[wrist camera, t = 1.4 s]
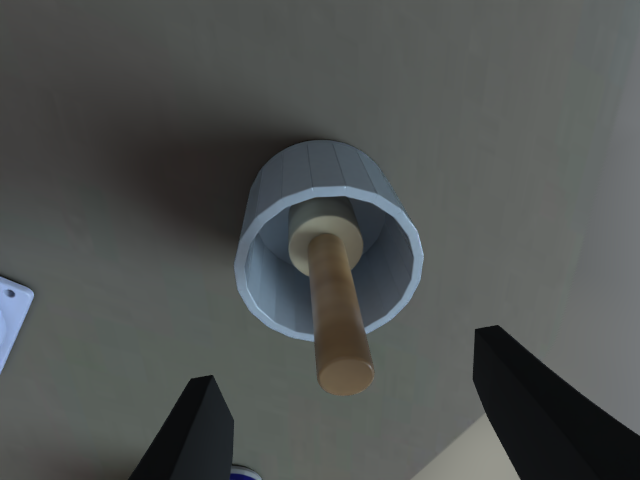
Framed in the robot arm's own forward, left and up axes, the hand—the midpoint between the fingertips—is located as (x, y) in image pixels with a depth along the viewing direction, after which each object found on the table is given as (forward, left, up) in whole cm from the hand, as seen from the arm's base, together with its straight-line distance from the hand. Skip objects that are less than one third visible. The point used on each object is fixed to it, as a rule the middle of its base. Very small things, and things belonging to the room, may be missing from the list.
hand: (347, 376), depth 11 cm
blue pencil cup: (0, 0, -10) cm, 10 cm away
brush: (0, 0, -10) cm, 10 cm away
